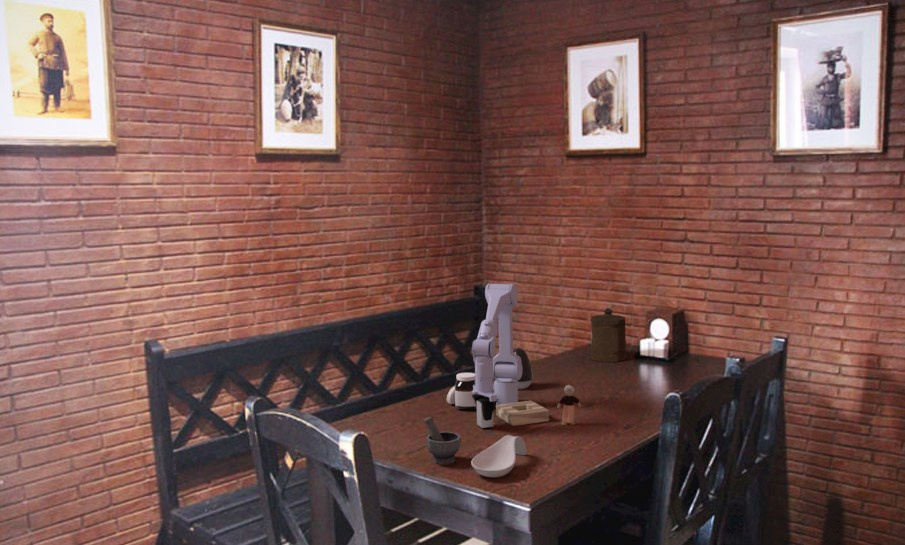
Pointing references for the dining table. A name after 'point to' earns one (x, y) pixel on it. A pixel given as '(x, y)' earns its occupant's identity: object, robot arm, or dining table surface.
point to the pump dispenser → (524, 369)
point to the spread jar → (463, 392)
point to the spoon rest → (499, 457)
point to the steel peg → (482, 417)
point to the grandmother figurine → (568, 405)
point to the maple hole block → (522, 413)
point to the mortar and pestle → (441, 443)
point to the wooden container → (608, 337)
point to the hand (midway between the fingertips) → (485, 418)
